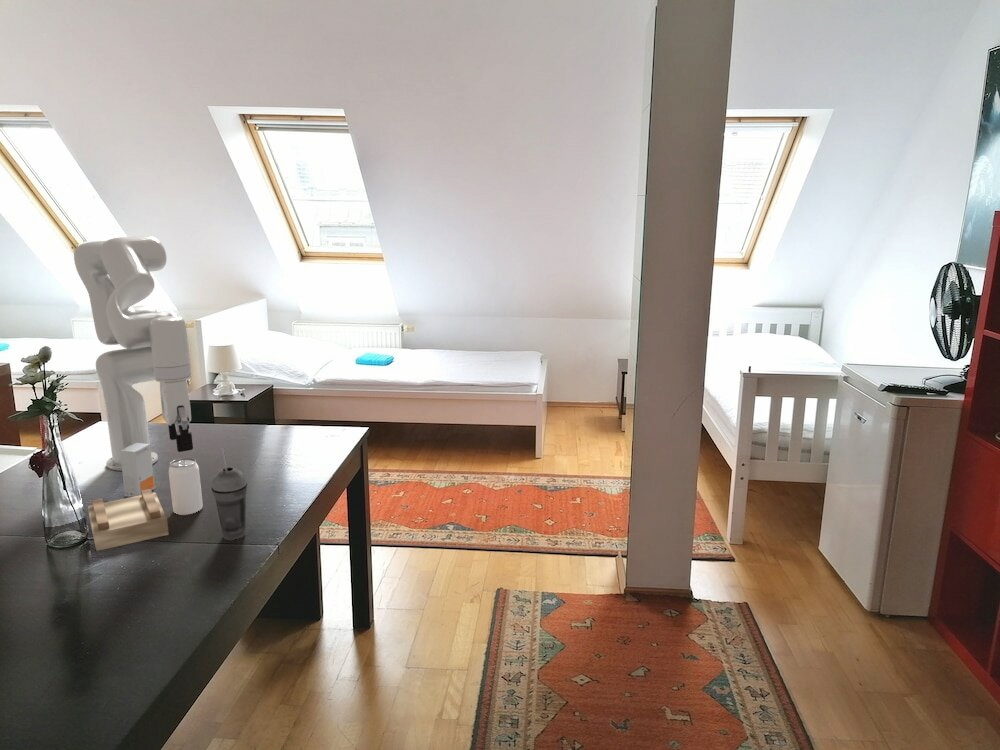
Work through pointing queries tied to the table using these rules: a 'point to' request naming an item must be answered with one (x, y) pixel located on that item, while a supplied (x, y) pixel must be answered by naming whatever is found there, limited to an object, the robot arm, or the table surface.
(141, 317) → the robot arm
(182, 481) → the can
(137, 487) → the skincare box
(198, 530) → the table surface
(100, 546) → the plinth
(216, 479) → the beverage cup
